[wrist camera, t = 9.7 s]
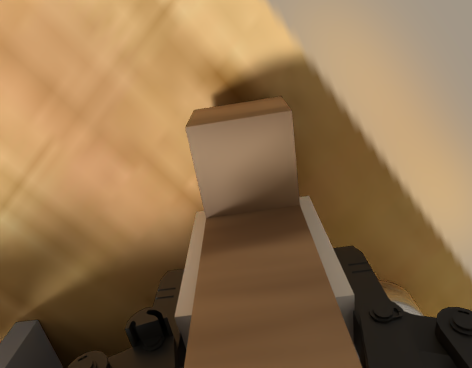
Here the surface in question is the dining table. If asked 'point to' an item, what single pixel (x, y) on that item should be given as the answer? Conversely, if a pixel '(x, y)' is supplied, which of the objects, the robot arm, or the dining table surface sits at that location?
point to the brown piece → (258, 249)
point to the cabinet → (27, 347)
